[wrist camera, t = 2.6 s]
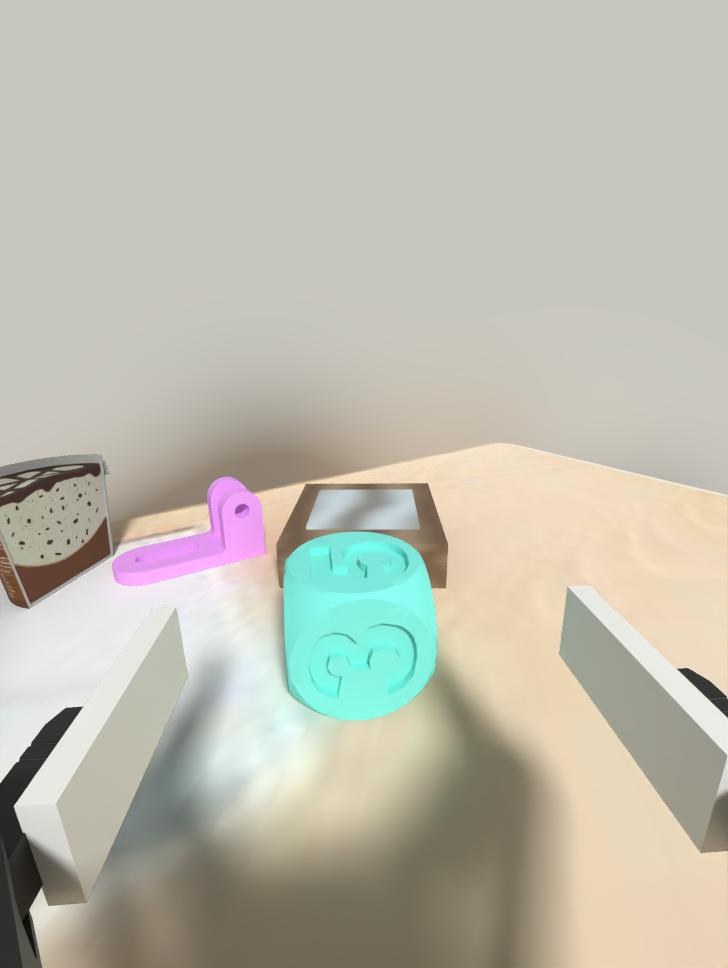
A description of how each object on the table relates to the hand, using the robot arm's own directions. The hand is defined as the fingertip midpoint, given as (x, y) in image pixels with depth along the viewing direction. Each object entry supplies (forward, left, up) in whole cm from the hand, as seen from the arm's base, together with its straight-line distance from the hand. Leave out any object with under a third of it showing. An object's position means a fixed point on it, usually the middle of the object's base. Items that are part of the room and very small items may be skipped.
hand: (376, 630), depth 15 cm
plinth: (-1, +29, -11) cm, 30 cm away
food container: (-30, +22, -11) cm, 39 cm away
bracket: (-18, +26, -11) cm, 33 cm away
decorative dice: (-1, +11, -11) cm, 15 cm away
